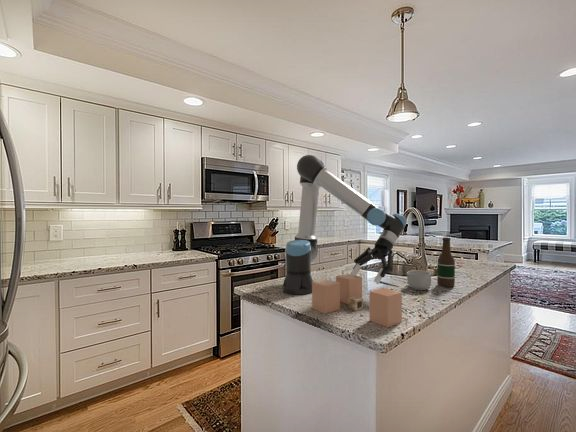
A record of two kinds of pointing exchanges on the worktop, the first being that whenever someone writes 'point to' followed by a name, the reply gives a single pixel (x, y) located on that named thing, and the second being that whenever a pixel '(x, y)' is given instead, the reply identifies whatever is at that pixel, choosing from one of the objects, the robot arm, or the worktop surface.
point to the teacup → (419, 279)
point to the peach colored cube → (326, 296)
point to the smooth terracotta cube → (349, 286)
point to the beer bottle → (446, 266)
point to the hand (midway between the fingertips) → (363, 279)
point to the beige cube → (355, 303)
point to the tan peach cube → (385, 307)
